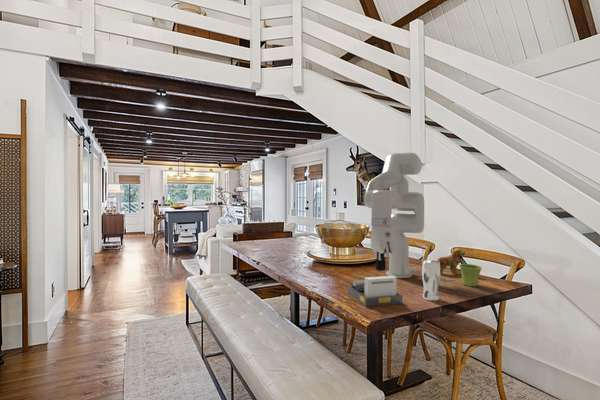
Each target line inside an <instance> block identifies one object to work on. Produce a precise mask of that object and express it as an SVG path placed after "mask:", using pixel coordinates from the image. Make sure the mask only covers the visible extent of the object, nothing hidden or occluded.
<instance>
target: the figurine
mask: <svg viewBox="0 0 600 400" xmlns="http://www.w3.org/2000/svg"><path fill="white" fill-rule="evenodd" d="M465 254H466V252H465V251H462V249H460V248H454V249H453V251H452V253H451V254H450V255H447V256H440V257H439V258H437V259H436V261H439V262H440V276H444V275H445V273H443V272H444V270H445V269H447V267H449V270H450V271H451V273H452V274H454V275H460V273H459V272H458V271H457V267H458V266H459V265H460V263H461V260H462V258H461V256H464V255H465Z"/></svg>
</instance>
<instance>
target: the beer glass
mask: <svg viewBox="0 0 600 400" xmlns="http://www.w3.org/2000/svg"><path fill="white" fill-rule="evenodd" d="M421 279H422V284H423V285H422V286H423V292H422V297H421V298H422V299H424V300H426V301H430V302H431V301H432V302H436V301H439V299H440V298H439V284H440V279H441V275H440V262H439V261H437V259H423V260H422V261H421Z"/></svg>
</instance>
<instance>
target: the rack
mask: <svg viewBox="0 0 600 400" xmlns="http://www.w3.org/2000/svg"><path fill="white" fill-rule="evenodd" d="M364 290H365V279H359V280H352V285H348V286H347V293H348V294H349V296H351V297H353V298H354V299H355V300H357V301H358V303H361V304H362V305H363V306H364V307H366V308H367V307H377V306H378V307H379V306H389V305H398V304H399V305H401V304H403V295H402V294H400V293H398V292H397V291H396V295H395V296H383V297H372V298H366V297H365V296H364Z"/></svg>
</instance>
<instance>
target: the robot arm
mask: <svg viewBox="0 0 600 400" xmlns="http://www.w3.org/2000/svg"><path fill="white" fill-rule="evenodd" d="M421 170H422V160H421V158H420V156H418V154H416V153H415V152H414V153H413V152H401V153H399V152H398V153H397V152H396V153H395V152H394V153H391V154H388V155H387V156H386V158H385V159H384V161H383V167H382V171H381V173H380V174H378V175H377V176H375V177H374V178H372V179H371V180H370V181H369V182H368V184H367V186H366V188H365V191H364V196H363V203H364V205H365V207H366V208H367V209H371V218H370V219H371V221H370V224H371V232H370V249H371V250H372V253H374V257H375V270H376V271H379V272H382V271H385V276H394V277H396V278H397V279H407V278H408V279H409V278H411V277H412V272H417V271H418V269H417V267H415V266H414V267H411V266H409V256H410V255H409V252H410V251H409V249H410V247H409V246H410V245H409V244H410V243H409V239H408V237H407V236H406V235H405V234H420V233H421V234H422V233H423V231H424V230H425V198H424V195H423V193H421V192H416V191H409V181H408V179H407V178H406V176H407V175H408V176H409V175H410V176H411V175H412V176H413V175H418V174H420V173H421ZM405 175H406V176H405ZM389 188H390V189H389ZM393 210H394V211H398V212H399V213H398V212H397V213H392V211H393ZM401 212H413V213H401ZM404 233H405V234H404ZM387 258H388V270H386V261H387Z"/></svg>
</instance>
